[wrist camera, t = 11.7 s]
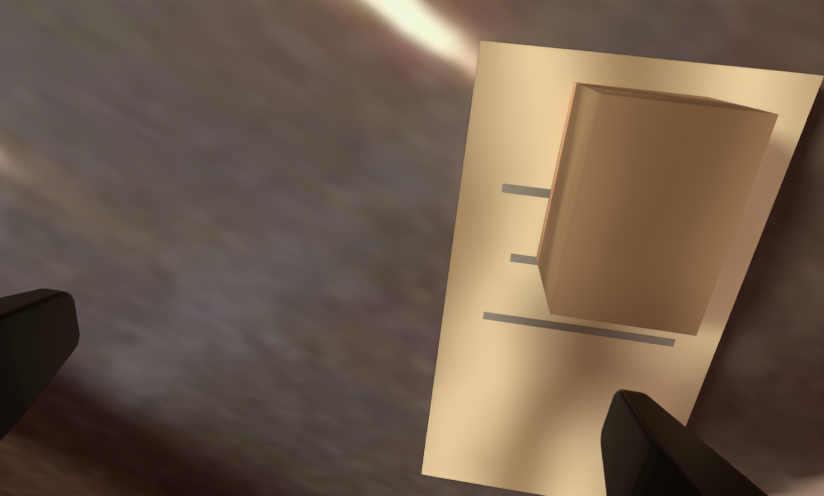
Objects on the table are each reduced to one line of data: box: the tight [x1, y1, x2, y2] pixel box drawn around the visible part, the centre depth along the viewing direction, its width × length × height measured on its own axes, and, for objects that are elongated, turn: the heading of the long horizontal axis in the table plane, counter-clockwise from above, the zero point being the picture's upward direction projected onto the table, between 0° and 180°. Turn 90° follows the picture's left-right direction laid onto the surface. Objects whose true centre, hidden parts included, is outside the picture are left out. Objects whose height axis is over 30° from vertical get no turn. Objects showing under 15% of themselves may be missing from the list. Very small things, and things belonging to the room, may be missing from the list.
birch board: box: [422, 40, 824, 496], centre depth 19 cm, size 10×18×2 cm, turn 175°
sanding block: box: [536, 82, 779, 336], centre depth 15 cm, size 4×6×4 cm, turn 174°
